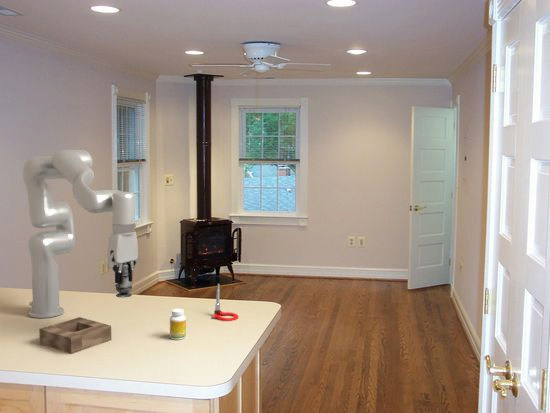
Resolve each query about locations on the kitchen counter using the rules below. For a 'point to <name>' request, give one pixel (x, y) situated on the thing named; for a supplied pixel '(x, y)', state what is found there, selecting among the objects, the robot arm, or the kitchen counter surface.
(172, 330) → the supplement bottle
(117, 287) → the dark stone chess piece
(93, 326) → the well block
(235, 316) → the tow hook
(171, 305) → the kitchen counter surface
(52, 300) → the robot arm
